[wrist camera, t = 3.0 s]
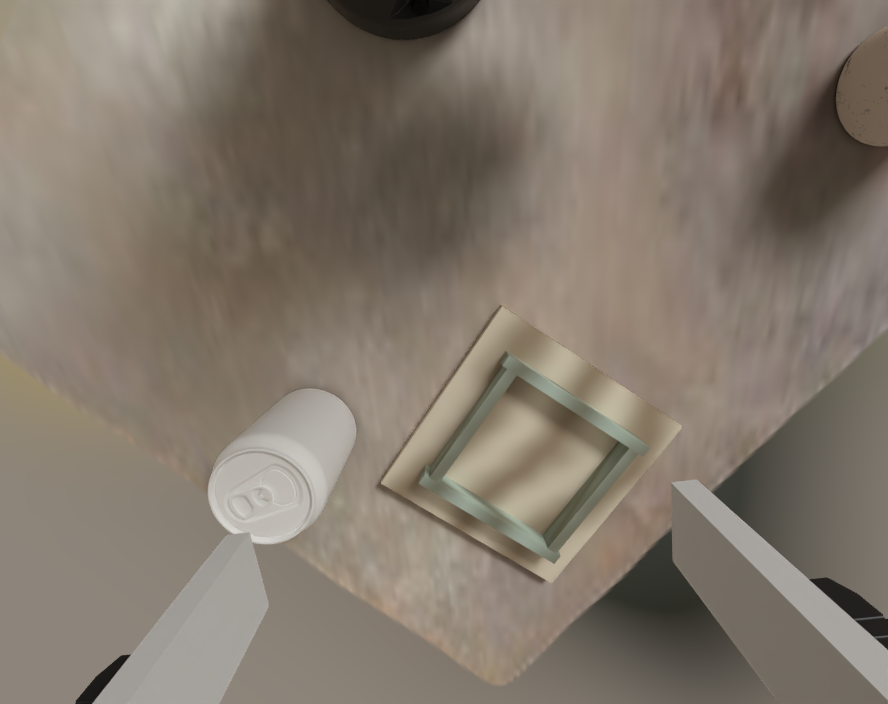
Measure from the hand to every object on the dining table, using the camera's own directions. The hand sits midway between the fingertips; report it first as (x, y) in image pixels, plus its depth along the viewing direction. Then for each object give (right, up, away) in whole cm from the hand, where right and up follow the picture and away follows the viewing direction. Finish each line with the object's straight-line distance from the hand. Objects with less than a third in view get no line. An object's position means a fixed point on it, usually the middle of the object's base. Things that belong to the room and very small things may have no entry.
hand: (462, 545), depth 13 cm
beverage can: (-13, -1, +27) cm, 30 cm away
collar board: (+7, -3, +27) cm, 28 cm away
